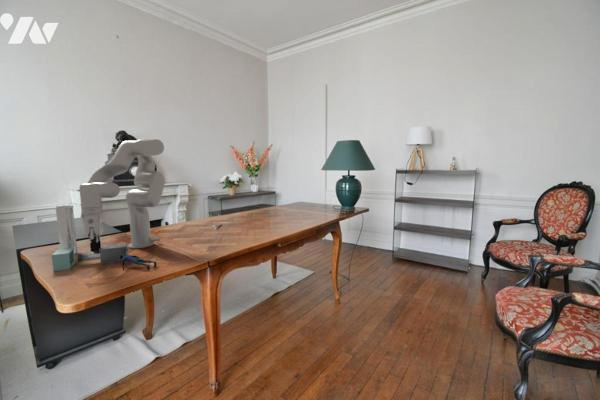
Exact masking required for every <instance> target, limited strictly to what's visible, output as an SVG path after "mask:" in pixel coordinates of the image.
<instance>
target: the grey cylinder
mask: <svg viewBox="0 0 600 400" xmlns="http://www.w3.org/2000/svg"><path fill="white" fill-rule="evenodd" d="M55 213H56V222H57V231H58V232H57V233H58V242H59V249H65V248H74V255H76V254H78V245H77V235H76V226H75V225H76V224H75V217H74V216H75V215H74V208H73V206H72V205H71V204H58V205H56V206H55Z"/></svg>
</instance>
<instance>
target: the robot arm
mask: <svg viewBox="0 0 600 400" xmlns="http://www.w3.org/2000/svg"><path fill="white" fill-rule="evenodd" d="M164 150H165V145H164V143H163V142H162V140H160V139H157V138H150V139H147V138H145V139H144V138H143V139H136V140H135V139H133V140H129V139H128V140H124V141H122V142H121V143H120V144H119V146H118V148H117V149H116V151H115V153H114V154H113V156H112V157H111V159H110V160H109V162H108V163H106V164H105V165H103V166H102V167H100V168H99V169H97V170H95V172H94V173H93V174H92V175H91V177H90V178H89V179H88V181H87V183H82V184H80V185H79V195H80V197H79V199H80V206H81V215H82V216H84V220H85V222H84V223H85V230H86V231H85V232H86V236H87V237H88V238H89V247H90V252H93V251H99V250H100V249H101V247H102V245H101V244H102V243H101V240H100V239H101V238H100V237H101V236H102V234H103V233H104V226H103V219H102V214H103V212H104V211H103V203H102V202H103V201H102V199H104V198H105V199H106V198H107V199H112V198H115V197H118V195H119V194H120V192H121V189H120V188H121V187H120V186H119V185H118V184H117V183H115V182H113V181H109V180H111V179H112V178H114V177H116V176H119V175H121V174H125V173H126V172H128V171H129V169H130V168H131V165H132V164H133V161H134V160H135V158H136V157H137V161H138V164H137V168H136V171H135V175H134V178H133V184H134V185H135V187H137V189H136V188H134V189H130V190H128V191H127V193H126V194H125V202H126V205H127V206H126V207H127V209H128V214H129V215H128V216H129V229H130V230H129V231H130V243H128V244H127V248H129V249H144V248H148V247H152V246H153V245H154V244H155V242H159V241H160V237H158V236H156V237H152V234H151V225H150V224H151V223H150V213H149V210H148V208H154V207H157V206H158V205H159V204H160V202H161V200H162V195H163V193H164V192H163V191H164V188H165V184H166V183H165V182H166V181H165V180H166V179H165V175H164V174H163V173H162V172H160V171H156V170H155V168H156V162H155V160H154V158H153V156H154V157H155V156H159V155H161V154H162V153H163V152H164ZM138 188H139V189H138ZM98 239H99V242H98Z"/></svg>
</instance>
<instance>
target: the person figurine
mask: <svg viewBox="0 0 600 400" xmlns="http://www.w3.org/2000/svg"><path fill="white" fill-rule="evenodd" d="M120 259H122V262H121V263H122V264H121V266H122V271H125V267H124V266H125V263H132V264H134V265H139V266H144V267H146V269H147V271H150V267H154V268H156V267H157V261H152V260H149V259H142V258H140V257H139V256H137V255H130V254H128V255H127V256H123V255H121V256H120ZM147 263H148V264H147Z"/></svg>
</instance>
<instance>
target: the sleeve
mask: <svg viewBox="0 0 600 400" xmlns="http://www.w3.org/2000/svg"><path fill="white" fill-rule="evenodd" d="M128 251H129V249H128V242H125V243H117V244H115V243H114V244H107V245H101V249H100V257H101V259H100V265H106V264H107V265H108V264H113V263H122V259H120V256H121V255H123V256H127V255H129V252H128Z"/></svg>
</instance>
